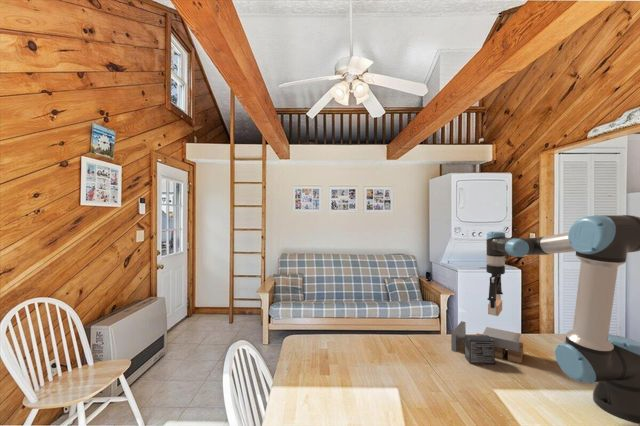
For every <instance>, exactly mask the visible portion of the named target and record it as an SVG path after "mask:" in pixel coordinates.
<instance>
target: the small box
mask: <svg viewBox="0 0 640 426" xmlns="http://www.w3.org/2000/svg"><path fill="white" fill-rule="evenodd" d="M464 358H465V360H466V361H467V362H468V363H469V364H470V365H490V366H491V365H494V366H495V365H496V360H495V359H496V357H495V351H494V340H493V339H492V338H491V337H489V336H488V335H476V334H466V335H465V339H464Z"/></svg>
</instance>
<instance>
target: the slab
mask: <svg viewBox="0 0 640 426" xmlns="http://www.w3.org/2000/svg"><path fill="white" fill-rule="evenodd" d="M481 334H482V335H488V336H489V337H491V338H492V339H493V340H494V346H495V347H500V348H504V349H506V350H508V349H509V350H513V351H517V352H518V351H519V347H520V343H522V340H521V339H522V337H521V335H522V334H521V333H519V332H514V331H510V330H509V331H508V330H503V329H499V328H494V327H488V326H486V327H485V329H484V331H483V333H481Z"/></svg>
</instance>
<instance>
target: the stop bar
mask: <svg viewBox="0 0 640 426" xmlns="http://www.w3.org/2000/svg"><path fill="white" fill-rule="evenodd" d="M466 325H467V324H466V321H460V322H459V324H458V325H457V326H455V328H454V329H453V331H452V332H451V334H450V335H451V337H450V338H451V339H450V340H451V341H450V343H451V351H453V352H457V350H458V349H459V348H460V346H461V345H462V344H463V342H464V341H465V335H467V334H466V333H467V332H466V331H467V330H466V327H467V326H466Z"/></svg>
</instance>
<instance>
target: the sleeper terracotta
mask: <svg viewBox="0 0 640 426" xmlns="http://www.w3.org/2000/svg"><path fill="white" fill-rule="evenodd" d="M502 311H503V300H502V299H501V300H497V299H496V315H494V316H495V317H498V316H499V315H500V314H501V313H502ZM487 314H488V315H491V314H489V303H488V304H487ZM491 316H492V315H491Z"/></svg>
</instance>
